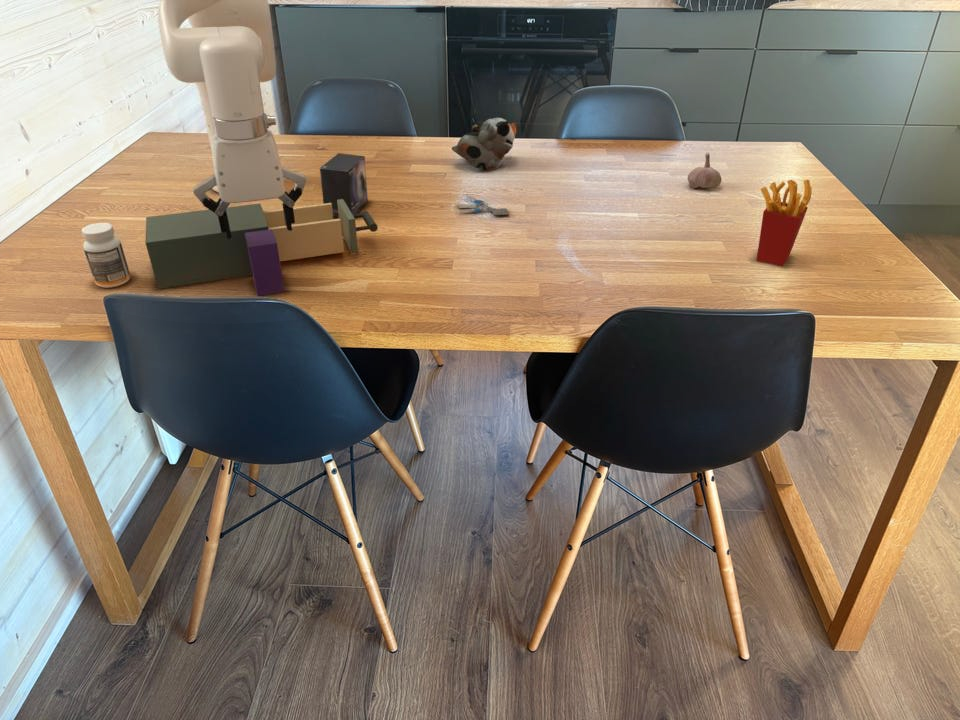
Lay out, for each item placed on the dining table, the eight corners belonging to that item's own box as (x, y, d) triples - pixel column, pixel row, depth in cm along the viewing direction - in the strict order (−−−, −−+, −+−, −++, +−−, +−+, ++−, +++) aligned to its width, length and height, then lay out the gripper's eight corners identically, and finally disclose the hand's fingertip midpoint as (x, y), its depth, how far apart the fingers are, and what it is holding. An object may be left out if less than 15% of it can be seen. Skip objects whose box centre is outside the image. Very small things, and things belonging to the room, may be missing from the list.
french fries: (787, 270, 127) (809, 190, 119) (741, 259, 131) (760, 181, 122) (797, 252, 133) (819, 176, 125) (753, 242, 137) (772, 167, 129)
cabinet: (267, 246, 134) (260, 203, 129) (275, 271, 125) (268, 226, 120) (158, 261, 128) (146, 216, 123) (158, 289, 119) (145, 242, 114)
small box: (353, 220, 145) (348, 170, 139) (323, 217, 146) (317, 168, 140) (369, 202, 153) (366, 154, 148) (341, 199, 154) (336, 152, 149)
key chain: (514, 213, 148) (514, 209, 148) (488, 224, 143) (488, 220, 143) (467, 196, 156) (467, 193, 156) (440, 206, 151) (440, 203, 151)
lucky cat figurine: (470, 151, 183) (497, 103, 177) (505, 178, 181) (533, 130, 174) (442, 149, 171) (469, 97, 164) (478, 178, 168) (508, 126, 162)
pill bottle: (102, 274, 123) (85, 221, 118) (136, 273, 124) (120, 220, 118) (90, 289, 119) (71, 235, 113) (125, 288, 119) (108, 234, 114)
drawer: (368, 229, 139) (365, 196, 135) (381, 249, 131) (379, 215, 127) (249, 245, 132) (243, 211, 128) (255, 268, 124) (248, 232, 120)
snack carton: (253, 280, 122) (244, 232, 117) (280, 276, 123) (272, 229, 118) (257, 296, 117) (248, 246, 112) (285, 291, 119) (276, 242, 114)
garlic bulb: (684, 189, 162) (690, 155, 157) (688, 179, 167) (694, 146, 163) (718, 194, 159) (725, 159, 155) (721, 184, 165) (728, 150, 161)
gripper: (294, 115, 111) (308, 216, 121) (179, 124, 106) (202, 229, 115) (302, 128, 105) (316, 233, 115) (180, 139, 100) (205, 248, 110)
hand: (259, 231), depth 115 cm, fingers open, 9 cm apart
